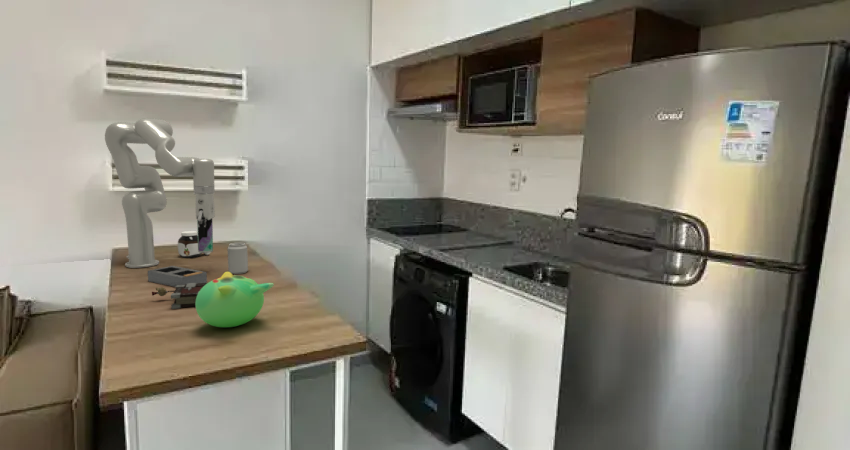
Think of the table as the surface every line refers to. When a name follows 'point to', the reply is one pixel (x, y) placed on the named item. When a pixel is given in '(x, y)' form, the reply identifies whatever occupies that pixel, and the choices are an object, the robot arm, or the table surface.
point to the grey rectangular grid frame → (176, 276)
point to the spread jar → (189, 245)
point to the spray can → (206, 239)
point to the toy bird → (230, 300)
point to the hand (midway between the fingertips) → (205, 235)
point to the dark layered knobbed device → (183, 294)
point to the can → (237, 258)
